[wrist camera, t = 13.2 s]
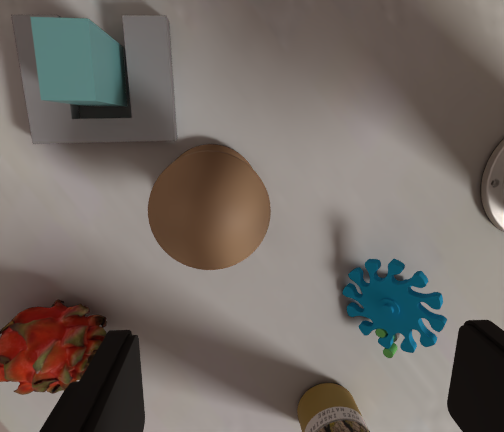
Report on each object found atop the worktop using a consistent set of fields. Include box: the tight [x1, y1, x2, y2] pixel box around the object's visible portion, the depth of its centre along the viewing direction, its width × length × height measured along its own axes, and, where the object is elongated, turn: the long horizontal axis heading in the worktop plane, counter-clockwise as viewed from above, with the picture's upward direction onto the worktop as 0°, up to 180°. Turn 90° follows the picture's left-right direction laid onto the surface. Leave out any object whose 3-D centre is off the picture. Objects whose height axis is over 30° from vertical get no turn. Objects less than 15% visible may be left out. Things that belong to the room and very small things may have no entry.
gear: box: [342, 259, 447, 358], centre depth 38 cm, size 11×6×10 cm
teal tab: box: [30, 17, 128, 107], centre depth 28 cm, size 4×5×9 cm
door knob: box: [148, 144, 271, 270], centre depth 31 cm, size 9×9×9 cm
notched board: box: [11, 15, 177, 144], centre depth 32 cm, size 12×10×2 cm
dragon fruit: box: [0, 300, 107, 395], centre depth 35 cm, size 8×8×12 cm
